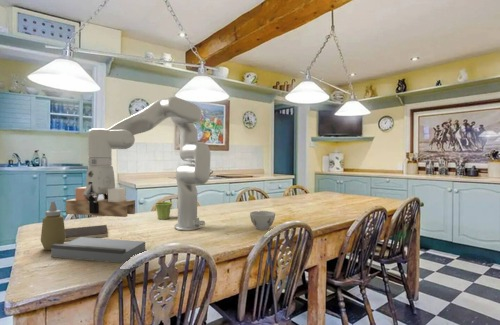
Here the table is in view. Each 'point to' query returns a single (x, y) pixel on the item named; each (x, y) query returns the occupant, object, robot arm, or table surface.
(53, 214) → the squeeze bottle
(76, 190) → the salmon pink cube
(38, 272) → the table surface
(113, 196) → the white cube
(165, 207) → the plant pot
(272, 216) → the teacup
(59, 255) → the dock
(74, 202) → the wooden beam
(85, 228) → the hardcover book
